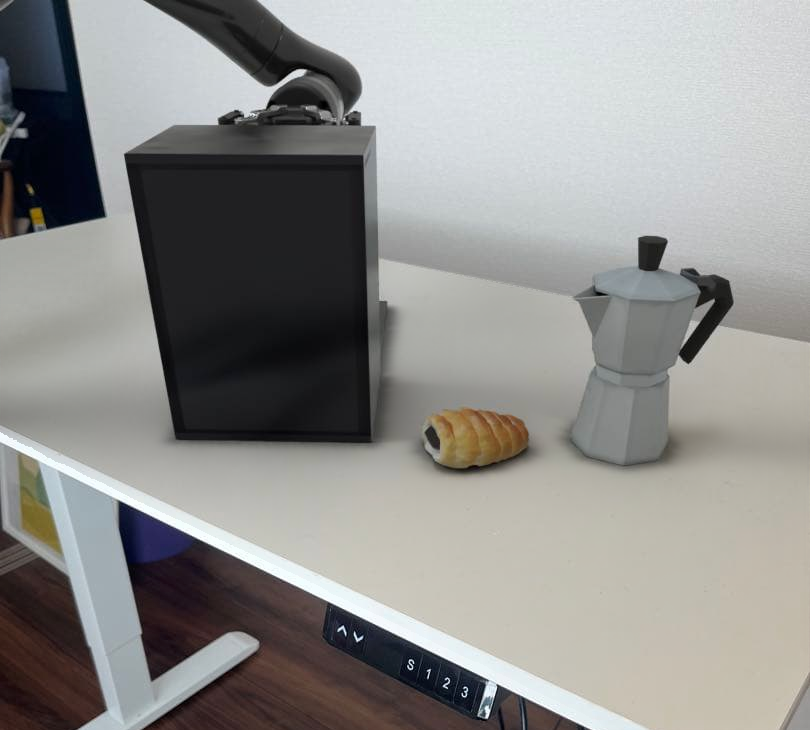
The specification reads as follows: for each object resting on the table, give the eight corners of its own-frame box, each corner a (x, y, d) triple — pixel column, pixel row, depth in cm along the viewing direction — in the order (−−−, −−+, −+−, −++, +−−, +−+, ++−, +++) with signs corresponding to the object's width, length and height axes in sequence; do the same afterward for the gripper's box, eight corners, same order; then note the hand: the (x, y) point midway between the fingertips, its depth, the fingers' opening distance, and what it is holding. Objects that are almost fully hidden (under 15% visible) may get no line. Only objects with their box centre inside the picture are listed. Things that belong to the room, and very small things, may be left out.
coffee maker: (576, 475, 69) (606, 259, 59) (534, 429, 76) (554, 229, 66) (728, 451, 73) (782, 243, 62) (675, 409, 80) (715, 216, 69)
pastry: (509, 426, 77) (512, 389, 75) (542, 460, 72) (546, 421, 69) (415, 442, 74) (415, 403, 72) (442, 478, 69) (443, 438, 67)
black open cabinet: (250, 306, 104) (227, 94, 91) (391, 308, 104) (389, 94, 90) (175, 439, 75) (123, 153, 61) (371, 442, 74) (363, 154, 60)
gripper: (237, 77, 89) (201, 95, 76) (367, 78, 89) (354, 96, 75) (245, 152, 94) (212, 181, 80) (369, 153, 93) (357, 183, 80)
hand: (281, 140), depth 78 cm, fingers open, 8 cm apart
